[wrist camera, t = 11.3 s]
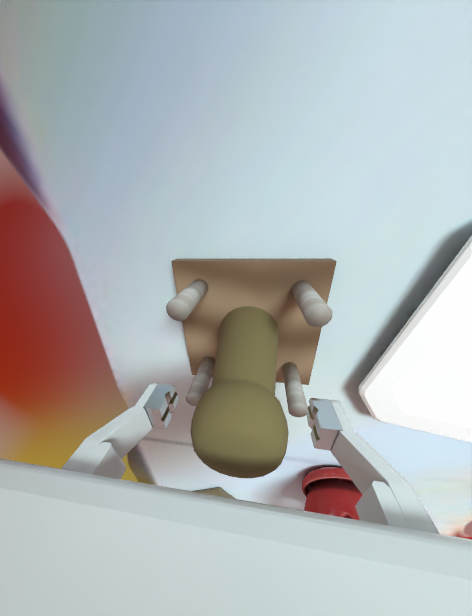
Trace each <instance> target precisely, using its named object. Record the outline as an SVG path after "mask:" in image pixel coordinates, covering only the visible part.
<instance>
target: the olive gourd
mask: <svg viewBox="0 0 472 616" xmlns="http://www.w3.org/2000/svg"><path fill="white" fill-rule="evenodd" d="M278 334H279V329H278V326H277V322H276V321H275V320H274V318H273V317H272V315H270V314H269V313H268V312H266V311H265V310H263V309H260V308H257V307H252V306H243V307H239V308H236V309H234V310H232V311H231V312H229V313H227V315H226V316H225V317H224V319H223V320H222V323H221V326H220V332H219V339H218V346H217V353H216V360H215V367H214V374H213V381H212V386H211V387H210V388H209V389H208V390H207V391H206V392H205V393H204V394H203V396H202V397H201V399H200V400H199V402H198V404H197V407H196V410H195V412H194V416H193V419H192V424H191V437H192V443H193V448H194V451H195V453H196V454H197V455H198V457H199V458H200V459H201V460H202V462H203V463H205V464H206V465H207V466H208V467H210V468H211V469H213V470H215V471H217V472H219V473H222V474H225V475H228V476H232V477H238V478H256V477H261V476H264V475H266V474H268V473H271V472H272V471H274V470H276V468H277V467H278V466H279V465H280V464H281V463H282V460H283V458H284V456H285V453H286V448H287V442H288V427H287V421H286V418H285V415H284V412H283V409H282V407H281V404H280V402H279V400H278V399H277V398H276V397H275V382H276V366H277V350H278Z"/></svg>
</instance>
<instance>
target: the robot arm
mask: <svg viewBox="0 0 472 616" xmlns="http://www.w3.org/2000/svg"><path fill="white" fill-rule="evenodd" d="M175 391H176V387H175V385H166V384H158V383H151V384H150V385H149V386H148V387H147V389H146V390H145V391H144V393H143V394H142V396H141V397H140V399H139V400H138V402H137V403H136V405H135V406H134V407H131V408H129V409H128V410H126V411H125V412H123V413H122V414H121V415H119V416H118V417H116V418H115V419H113V420H112V421H110V422H109V423H107V424H106V425H105V426H103V427H102V428H100V429H99V430H97V431H96V432H94V433H93V434H91V435H90V436H89V437H87V438H86V439H85V440H84V441H83V443H82V444H81V445H80V446H79V447H78V449H77V450H76V451H75V452H74V454H73V455H72V456H71V457H70V459H69V460H68V461H67V462H66V464H65V465H64V466H63V467H62V469H58V468H52V467H46V466H40V465H34V464H28V463H22V462H17V461H11V460H6V459H0V616H472V540H471V539H465V538H460V537H454V536H448V535H442V534H439V532H438V530H437V528H436V527H435V525H434V523H433V521H432V520H431V518H430V516H429V515H428V513H427V511H426V509H425V508H424V506H423V504H422V502H421V501H420V499H419V497H418V495H417V494H416V492H415V490H414V488H413V487H412V485H411V484H410V483H409V482H408V481H407V480H406V479H405V478H404V477H403V476H401V475H400V474H399V473H398V472H397V471H396V470H395V469H394V468H393V467H392V466H391V465H390V464H389V463H388V462H387V461H386V460H385V459H384V458H383V457H382V456H381V455H380V454H379V453H378V452H377V451H376V450H375V449H374V448H373V447H372V446H371V445H369V444H368V443H367V442H366V441H365V440H364V439H363V438H362V437H361V436H360V435H359V434H358V433H355V432H354V430H353V428H352V426H351V424H350V422H349V419H348V417H347V415H346V413H345V411H344V408H343V406H342V404H341V402H340V401H338V400H328V399H316V398H310V400H309V404H310V406H309V407H308V408H307V421H308V425H309V426H310V428H311V429H312V431H311V438H312V442H313V446H314V448H317V449H324V450H330V451H331V452H332V454H333V455H334V456H335V458H336V459H337V461H338V462H339V463H340V465H341V466H342V467H343V469H344V470H345V472H346V473H347V474H348V476H349V477H350V478H351V480H352V481H353V482H354V484H355V485H356V487H357V488H358V489H359V491H360V492H361V493H362V495H363V496H362V497H361V498H360V500H359V501H358V502H357V504H356V506H355V507H356V510H357V513H358V516H359V519H360V520H355V519H349V518H343V517H337V516H332V515H326V514H320V513H314V512H308V511H302V510H297V509H291V508H285V507H279V506H273V505H267V504H262V503H256V502H250V501H244V500H238V499H233V498H227V497H221V496H215V495H209V494H203V493H198V492H192V491H186V490H180V489H174V488H169V487H163V486H157V485H151V484H145V483H139V482H133V481H127V480H122V479H121V477H122V475H123V473H124V472H125V470H126V466H125V464H124V463H123V461H122V460H121V459H122V458H123V457H124V456H125V455H126V454H127V453H128V452H129V451H130V450H131V449H132V448H133V447H134V446H135V445H136V444H137V443H138V442H140V441H141V440H142V439H143V438H144V437H145V436H146V435H147V434H148V433H149V432H150V431H151V430H152V429H153V428H161V429H167V426H168V424H169V422H170V420H171V418H172V417H171V413H172V412H173V411H174V410H175V409H176V406H177V403H178V394H177V393H176V392H175Z"/></svg>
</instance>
